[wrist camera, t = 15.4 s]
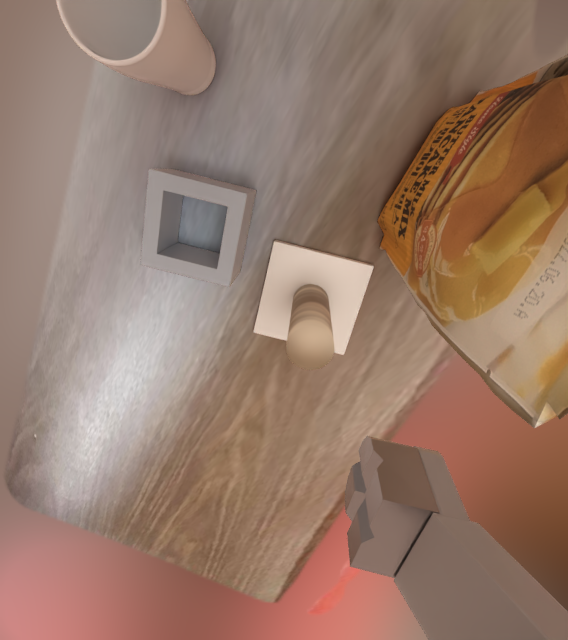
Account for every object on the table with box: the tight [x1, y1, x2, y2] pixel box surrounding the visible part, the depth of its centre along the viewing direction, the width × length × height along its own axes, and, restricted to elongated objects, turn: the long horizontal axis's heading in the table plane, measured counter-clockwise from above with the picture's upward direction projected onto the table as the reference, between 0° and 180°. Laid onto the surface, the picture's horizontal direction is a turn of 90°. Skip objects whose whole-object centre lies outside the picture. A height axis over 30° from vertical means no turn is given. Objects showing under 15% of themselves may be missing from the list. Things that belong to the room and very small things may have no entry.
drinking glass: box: [56, 0, 216, 95], centre depth 28 cm, size 7×7×15 cm
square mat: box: [254, 240, 374, 355], centre depth 43 cm, size 11×11×1 cm
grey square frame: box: [140, 169, 257, 287], centre depth 38 cm, size 9×9×6 cm
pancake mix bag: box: [377, 54, 568, 428], centre depth 25 cm, size 7×19×28 cm, turn 152°
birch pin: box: [286, 284, 335, 370], centre depth 37 cm, size 4×4×12 cm
